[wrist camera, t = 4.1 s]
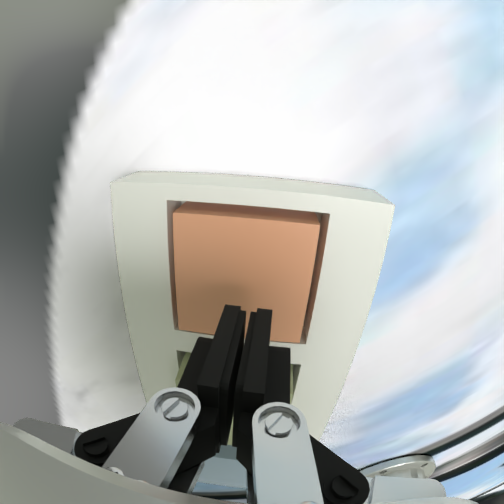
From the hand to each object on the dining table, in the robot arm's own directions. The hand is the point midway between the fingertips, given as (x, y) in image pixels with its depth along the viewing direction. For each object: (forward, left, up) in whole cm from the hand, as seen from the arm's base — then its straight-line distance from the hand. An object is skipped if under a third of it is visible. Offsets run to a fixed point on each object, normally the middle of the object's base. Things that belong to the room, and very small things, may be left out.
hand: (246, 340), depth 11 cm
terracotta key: (+1, 0, -5) cm, 5 cm away
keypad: (-6, +4, -6) cm, 9 cm away
